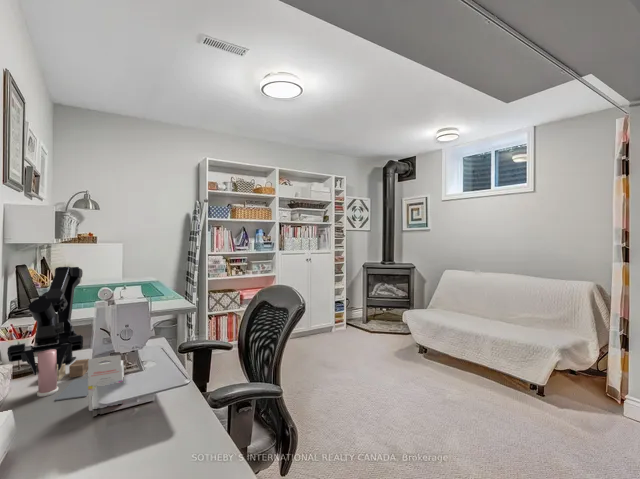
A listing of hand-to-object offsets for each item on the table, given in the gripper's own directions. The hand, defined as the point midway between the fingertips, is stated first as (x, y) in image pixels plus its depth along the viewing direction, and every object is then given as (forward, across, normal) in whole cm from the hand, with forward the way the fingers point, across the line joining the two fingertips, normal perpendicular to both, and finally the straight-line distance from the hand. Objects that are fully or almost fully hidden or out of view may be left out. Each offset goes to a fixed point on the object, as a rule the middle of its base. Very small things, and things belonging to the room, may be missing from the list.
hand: (47, 371), depth 103 cm
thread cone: (+4, 0, +6) cm, 7 cm away
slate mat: (+6, +8, +4) cm, 11 cm away
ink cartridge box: (+18, +14, -8) cm, 24 cm away
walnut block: (-4, +8, +14) cm, 17 cm away
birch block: (-4, +1, +15) cm, 16 cm away
